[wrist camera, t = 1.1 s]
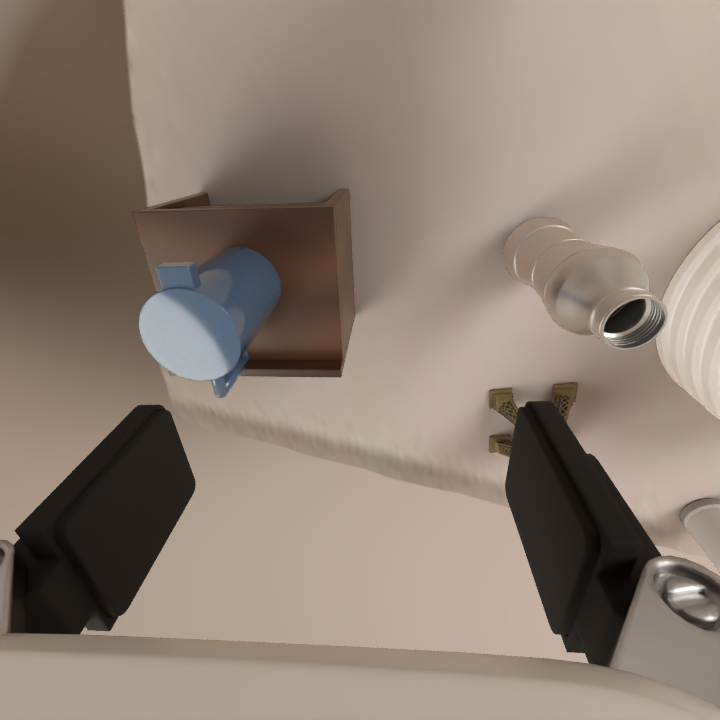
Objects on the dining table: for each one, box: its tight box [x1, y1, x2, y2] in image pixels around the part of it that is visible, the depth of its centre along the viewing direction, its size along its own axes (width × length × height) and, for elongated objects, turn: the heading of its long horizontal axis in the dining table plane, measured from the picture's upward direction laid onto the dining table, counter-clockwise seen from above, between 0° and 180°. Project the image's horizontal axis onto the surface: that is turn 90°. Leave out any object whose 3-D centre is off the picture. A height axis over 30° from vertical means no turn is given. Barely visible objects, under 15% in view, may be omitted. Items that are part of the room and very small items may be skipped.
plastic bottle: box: [503, 217, 668, 350], centre depth 32 cm, size 6×7×20 cm
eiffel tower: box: [489, 383, 577, 457], centre depth 41 cm, size 11×11×25 cm
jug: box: [139, 247, 281, 398], centre depth 28 cm, size 10×6×10 cm, turn 2°
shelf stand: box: [132, 189, 355, 377], centre depth 37 cm, size 14×16×14 cm
